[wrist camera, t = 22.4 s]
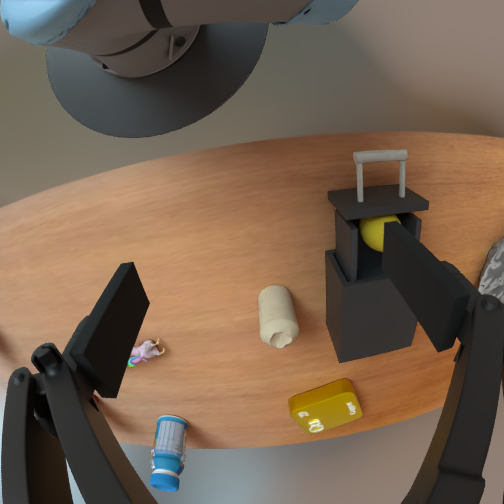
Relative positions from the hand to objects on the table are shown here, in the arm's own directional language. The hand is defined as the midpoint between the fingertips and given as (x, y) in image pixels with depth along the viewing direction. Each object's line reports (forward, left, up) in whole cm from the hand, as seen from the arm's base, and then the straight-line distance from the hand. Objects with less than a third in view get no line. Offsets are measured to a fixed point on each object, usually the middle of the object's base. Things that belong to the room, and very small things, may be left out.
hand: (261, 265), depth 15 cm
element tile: (+56, +10, -27) cm, 63 cm away
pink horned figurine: (+30, -28, -27) cm, 49 cm away
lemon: (+9, +16, -25) cm, 31 cm away
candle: (+22, +1, -27) cm, 35 cm away
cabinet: (+22, +16, -27) cm, 38 cm away
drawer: (+9, +16, -26) cm, 31 cm away
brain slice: (+26, +51, -27) cm, 63 cm away
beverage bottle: (+59, -29, -27) cm, 71 cm away
